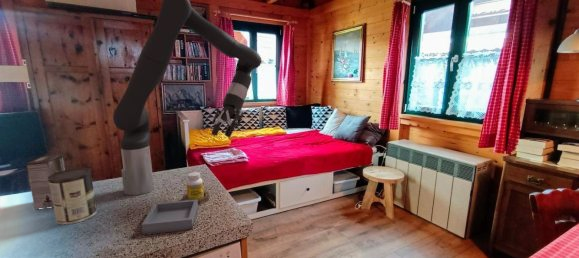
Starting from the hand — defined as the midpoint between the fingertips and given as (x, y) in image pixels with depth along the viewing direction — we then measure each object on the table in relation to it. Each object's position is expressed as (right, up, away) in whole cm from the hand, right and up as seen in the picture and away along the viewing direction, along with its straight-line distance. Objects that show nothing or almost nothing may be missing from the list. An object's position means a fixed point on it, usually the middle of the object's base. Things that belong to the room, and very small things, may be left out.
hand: (220, 135), depth 99 cm
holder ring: (-7, -23, -5) cm, 24 cm away
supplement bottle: (-7, -23, -5) cm, 24 cm away
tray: (-10, -25, -18) cm, 32 cm away
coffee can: (-41, -25, -16) cm, 50 cm away
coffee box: (-56, -23, -7) cm, 61 cm away
